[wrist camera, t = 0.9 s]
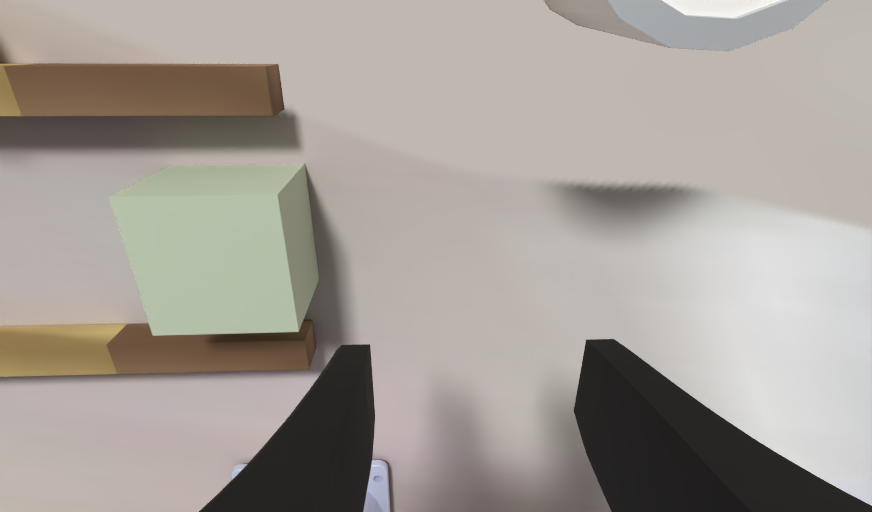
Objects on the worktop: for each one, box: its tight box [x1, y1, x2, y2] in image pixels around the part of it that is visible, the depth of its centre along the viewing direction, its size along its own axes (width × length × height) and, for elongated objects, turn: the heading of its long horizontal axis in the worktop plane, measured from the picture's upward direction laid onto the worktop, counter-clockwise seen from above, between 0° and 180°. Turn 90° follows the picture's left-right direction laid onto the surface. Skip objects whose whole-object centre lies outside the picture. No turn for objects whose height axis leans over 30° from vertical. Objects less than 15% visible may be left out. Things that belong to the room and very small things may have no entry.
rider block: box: [108, 164, 319, 336], centre depth 17 cm, size 5×5×4 cm
